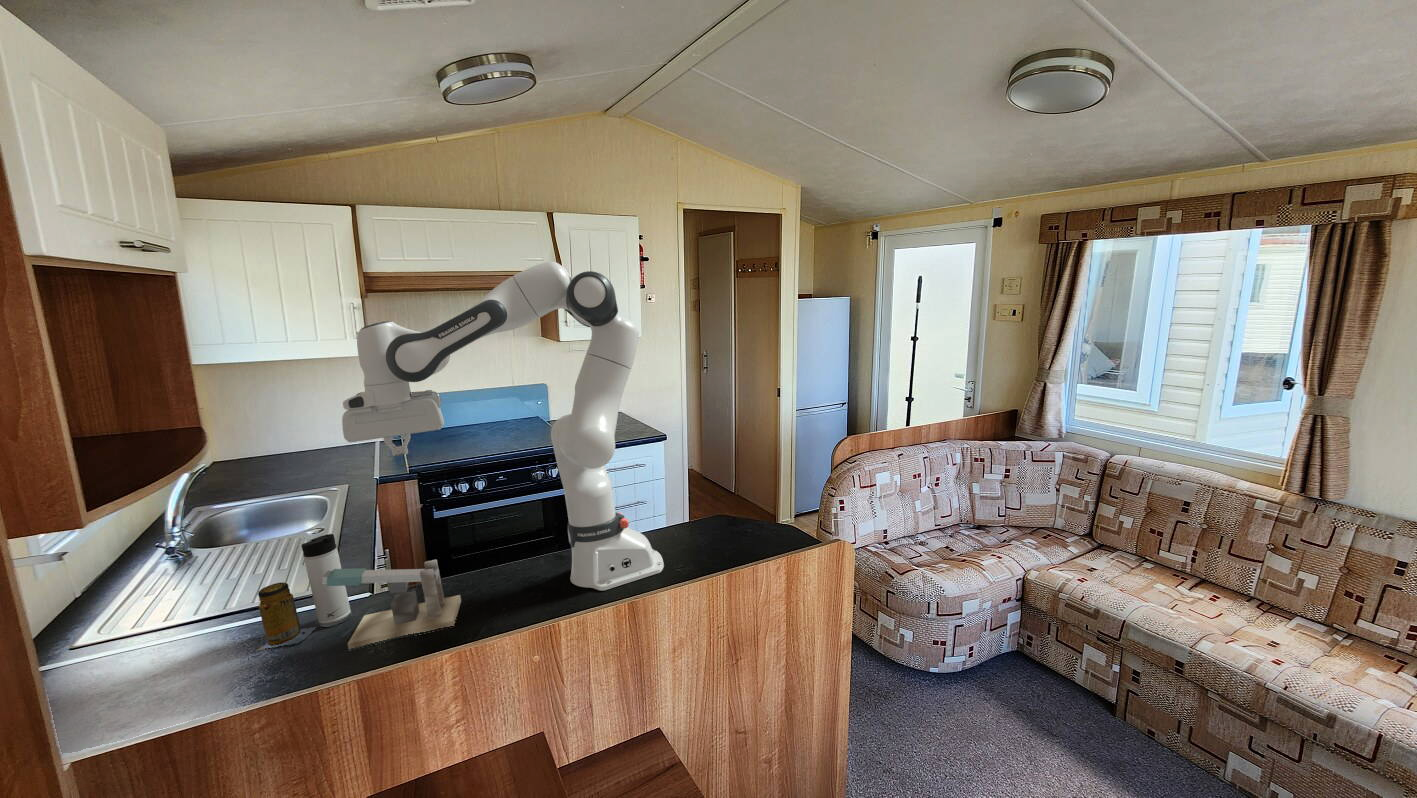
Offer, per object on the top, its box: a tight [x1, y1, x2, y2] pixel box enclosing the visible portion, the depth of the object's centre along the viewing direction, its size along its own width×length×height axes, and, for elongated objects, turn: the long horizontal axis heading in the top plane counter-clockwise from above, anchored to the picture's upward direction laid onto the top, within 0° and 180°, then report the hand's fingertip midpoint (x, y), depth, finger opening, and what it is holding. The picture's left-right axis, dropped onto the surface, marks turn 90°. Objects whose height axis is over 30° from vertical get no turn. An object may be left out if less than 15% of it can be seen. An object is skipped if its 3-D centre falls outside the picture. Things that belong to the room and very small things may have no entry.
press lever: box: [322, 567, 440, 594], centre depth 125 cm, size 22×4×4 cm, turn 106°
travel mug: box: [301, 533, 352, 625], centre depth 131 cm, size 6×7×20 cm
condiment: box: [257, 581, 302, 651], centre depth 126 cm, size 7×8×12 cm
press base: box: [347, 559, 462, 650], centre depth 126 cm, size 20×12×12 cm, turn 106°
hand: (400, 454), depth 134 cm, fingers closed
